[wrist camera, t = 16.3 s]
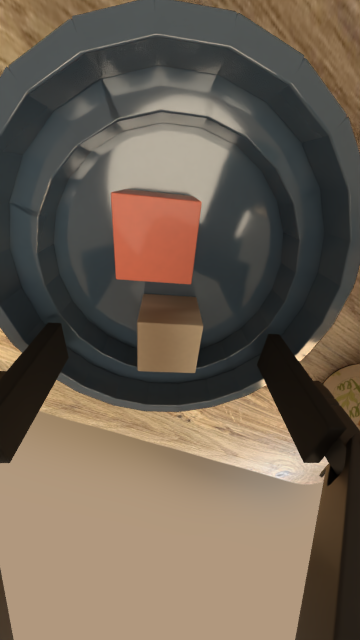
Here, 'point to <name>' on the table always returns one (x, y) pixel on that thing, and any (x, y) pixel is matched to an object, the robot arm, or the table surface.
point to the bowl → (174, 178)
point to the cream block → (168, 334)
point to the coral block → (154, 235)
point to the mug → (347, 390)
